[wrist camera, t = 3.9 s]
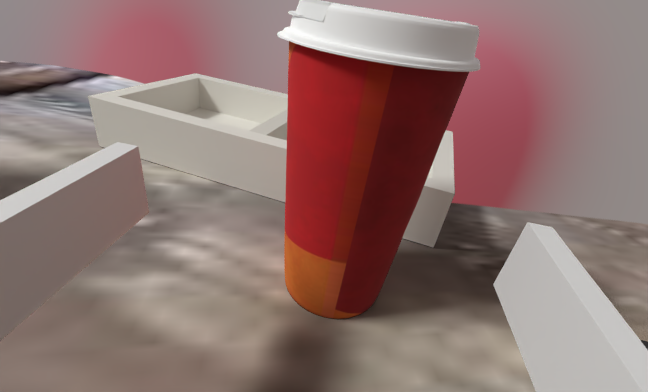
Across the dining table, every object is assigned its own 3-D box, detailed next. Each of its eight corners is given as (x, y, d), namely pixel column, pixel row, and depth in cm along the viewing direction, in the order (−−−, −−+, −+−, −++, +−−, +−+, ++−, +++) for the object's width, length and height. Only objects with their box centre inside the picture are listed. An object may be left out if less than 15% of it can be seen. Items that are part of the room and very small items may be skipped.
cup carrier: (438, 171, 35) (452, 131, 33) (433, 247, 23) (454, 193, 21) (197, 110, 41) (195, 73, 39) (99, 146, 30) (88, 96, 27)
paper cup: (385, 245, 23) (452, 20, 16) (409, 344, 16) (542, 34, 9) (273, 233, 22) (290, -5, 15) (251, 329, 16) (263, -10, 9)
